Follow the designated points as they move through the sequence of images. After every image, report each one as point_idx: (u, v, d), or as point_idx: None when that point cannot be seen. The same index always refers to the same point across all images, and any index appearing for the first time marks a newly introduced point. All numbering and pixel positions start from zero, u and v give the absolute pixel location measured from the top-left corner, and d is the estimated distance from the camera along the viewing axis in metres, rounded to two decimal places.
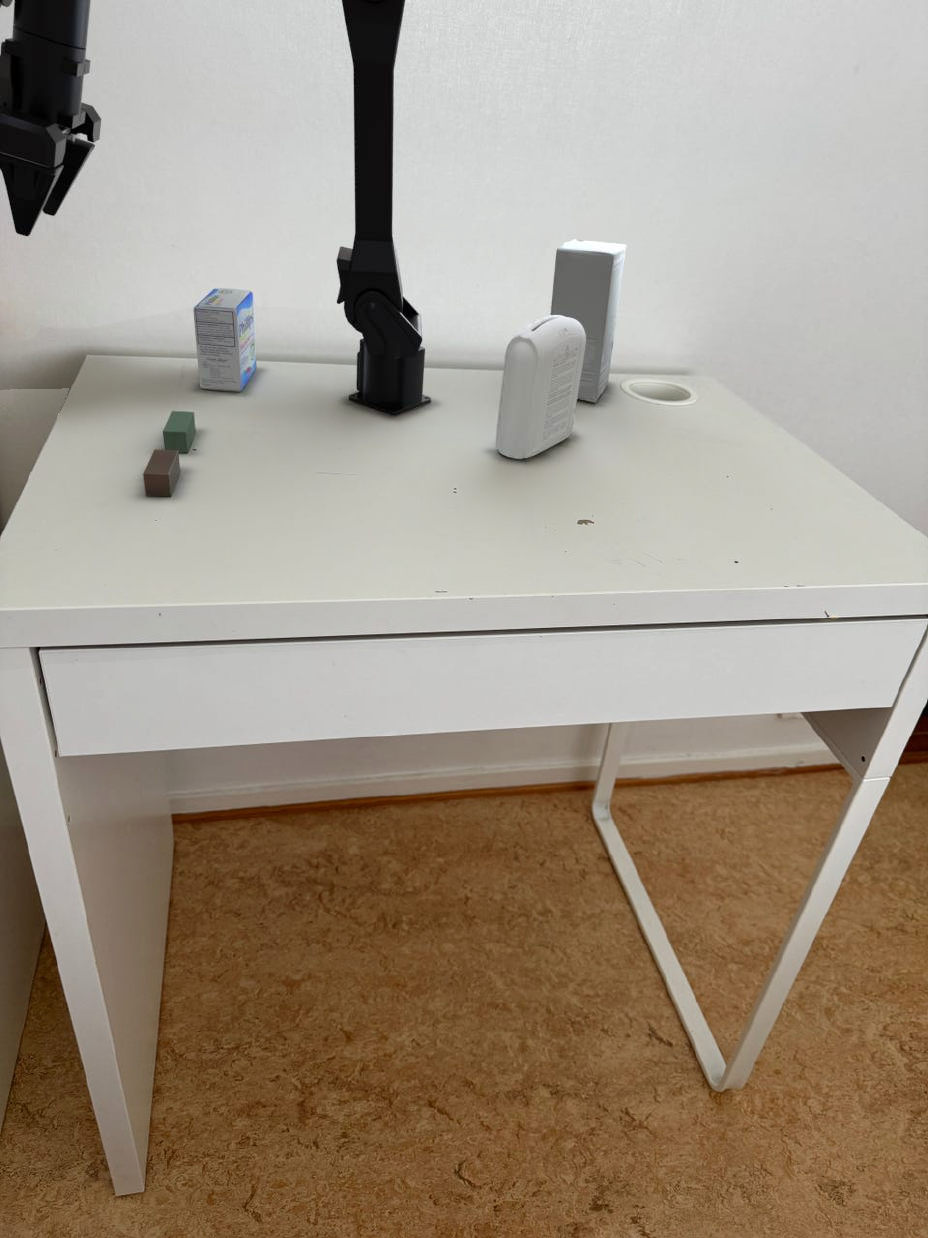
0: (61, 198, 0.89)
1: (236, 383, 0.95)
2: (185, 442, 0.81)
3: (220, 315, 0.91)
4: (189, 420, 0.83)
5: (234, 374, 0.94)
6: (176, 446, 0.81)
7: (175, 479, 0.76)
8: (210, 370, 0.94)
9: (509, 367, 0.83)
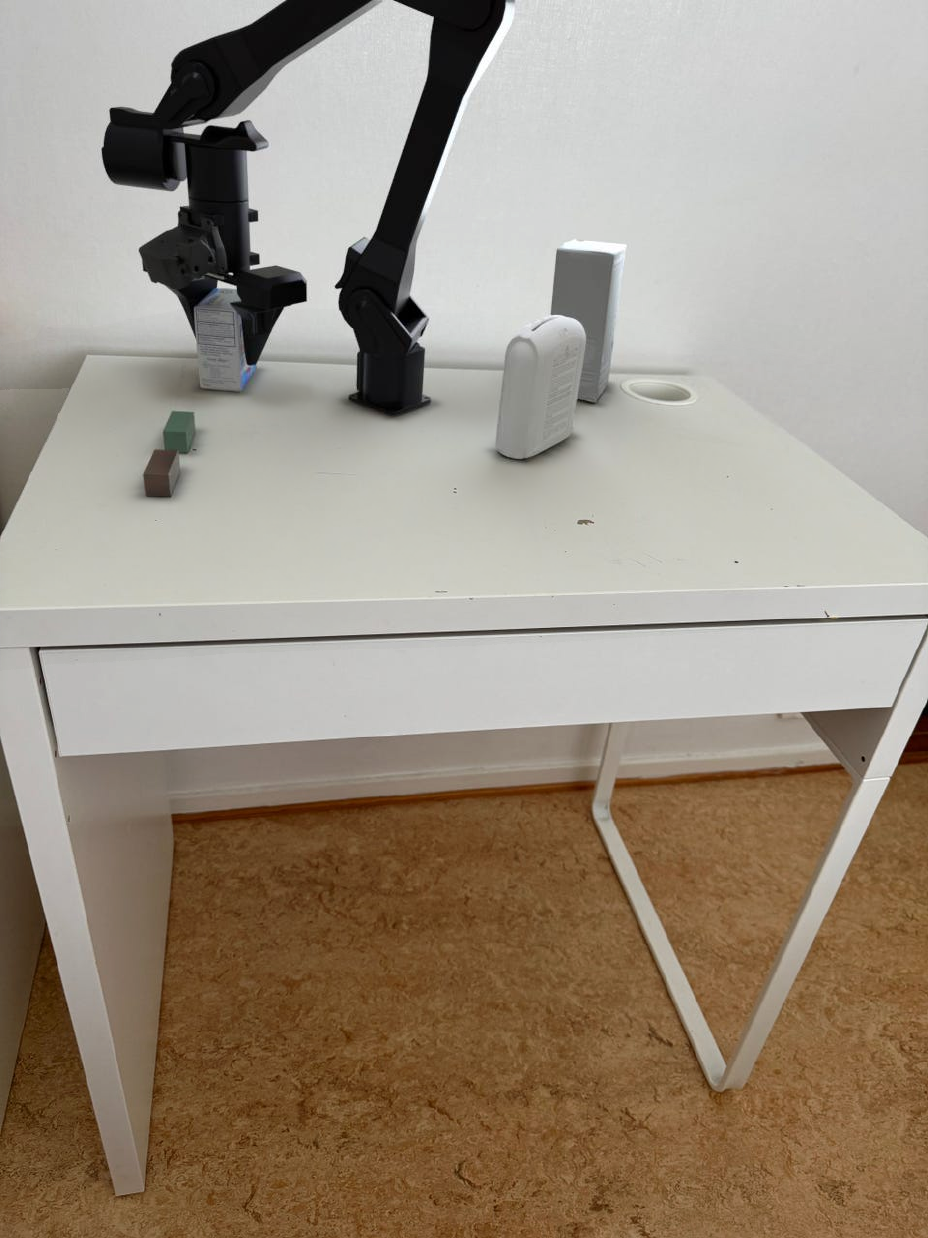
0: None
1: (236, 383, 0.95)
2: (185, 442, 0.81)
3: (221, 315, 0.91)
4: (189, 420, 0.83)
5: (234, 374, 0.94)
6: (176, 446, 0.81)
7: (175, 479, 0.76)
8: (210, 370, 0.94)
9: (509, 367, 0.83)
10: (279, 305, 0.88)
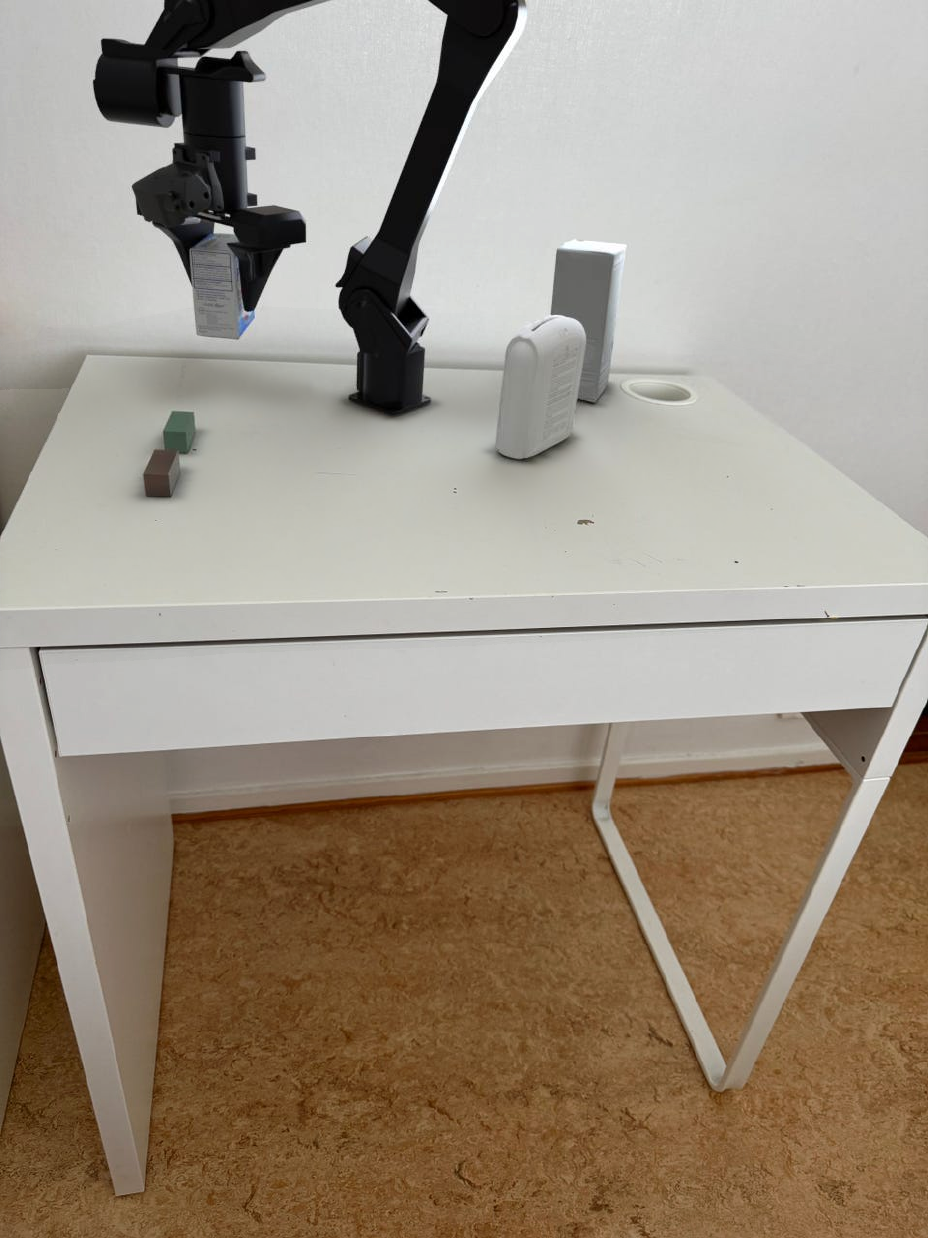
0: None
1: (233, 330, 0.92)
2: (185, 442, 0.81)
3: (217, 257, 0.88)
4: (189, 420, 0.83)
5: (231, 320, 0.91)
6: (176, 446, 0.81)
7: (175, 479, 0.76)
8: (206, 316, 0.91)
9: (509, 367, 0.83)
10: (277, 244, 0.85)
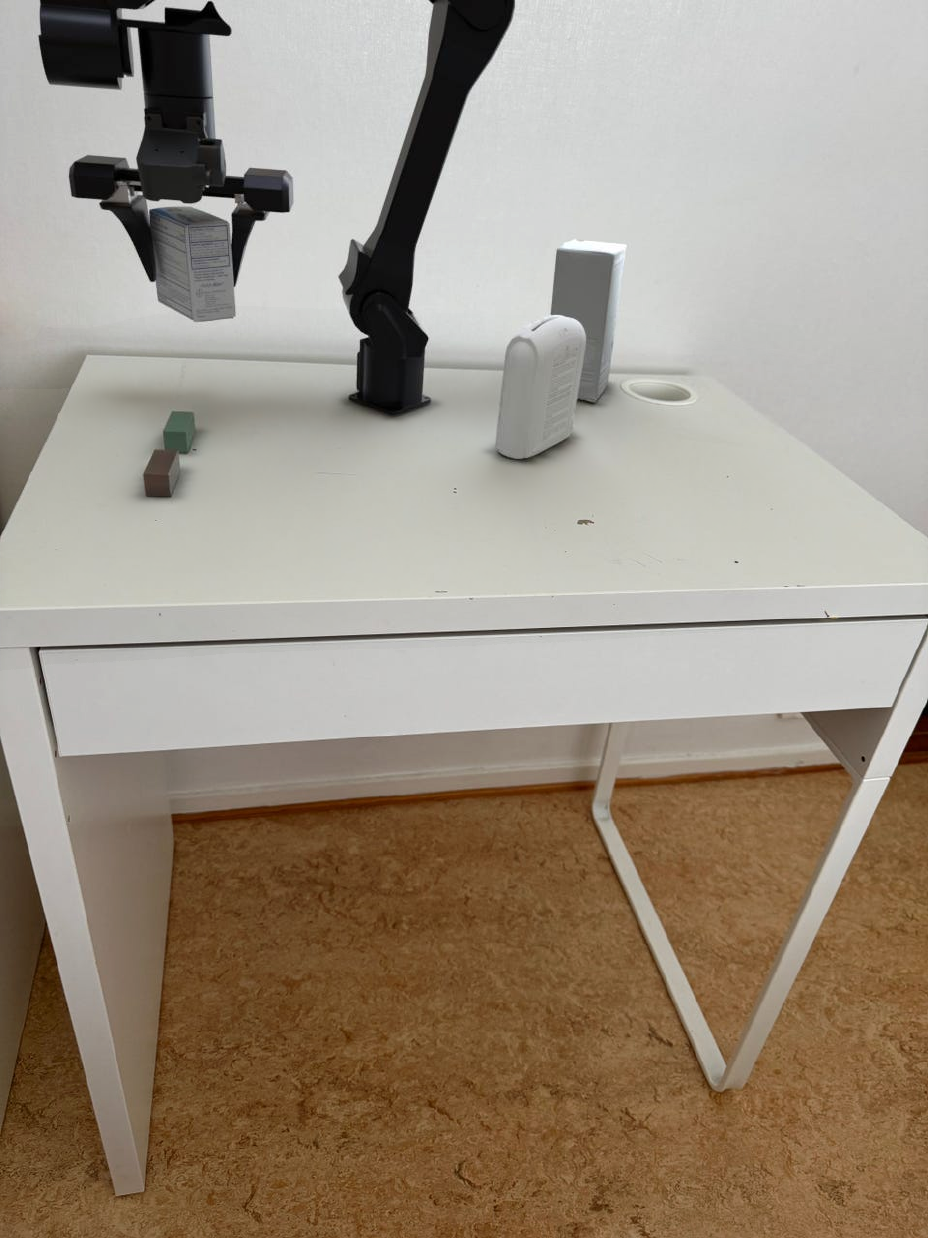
0: (153, 258, 0.86)
1: (231, 308, 0.86)
2: (185, 442, 0.81)
3: (215, 231, 0.81)
4: (189, 420, 0.83)
5: (229, 298, 0.85)
6: (176, 446, 0.81)
7: (175, 479, 0.76)
8: (204, 299, 0.84)
9: (509, 367, 0.83)
10: (290, 207, 0.82)
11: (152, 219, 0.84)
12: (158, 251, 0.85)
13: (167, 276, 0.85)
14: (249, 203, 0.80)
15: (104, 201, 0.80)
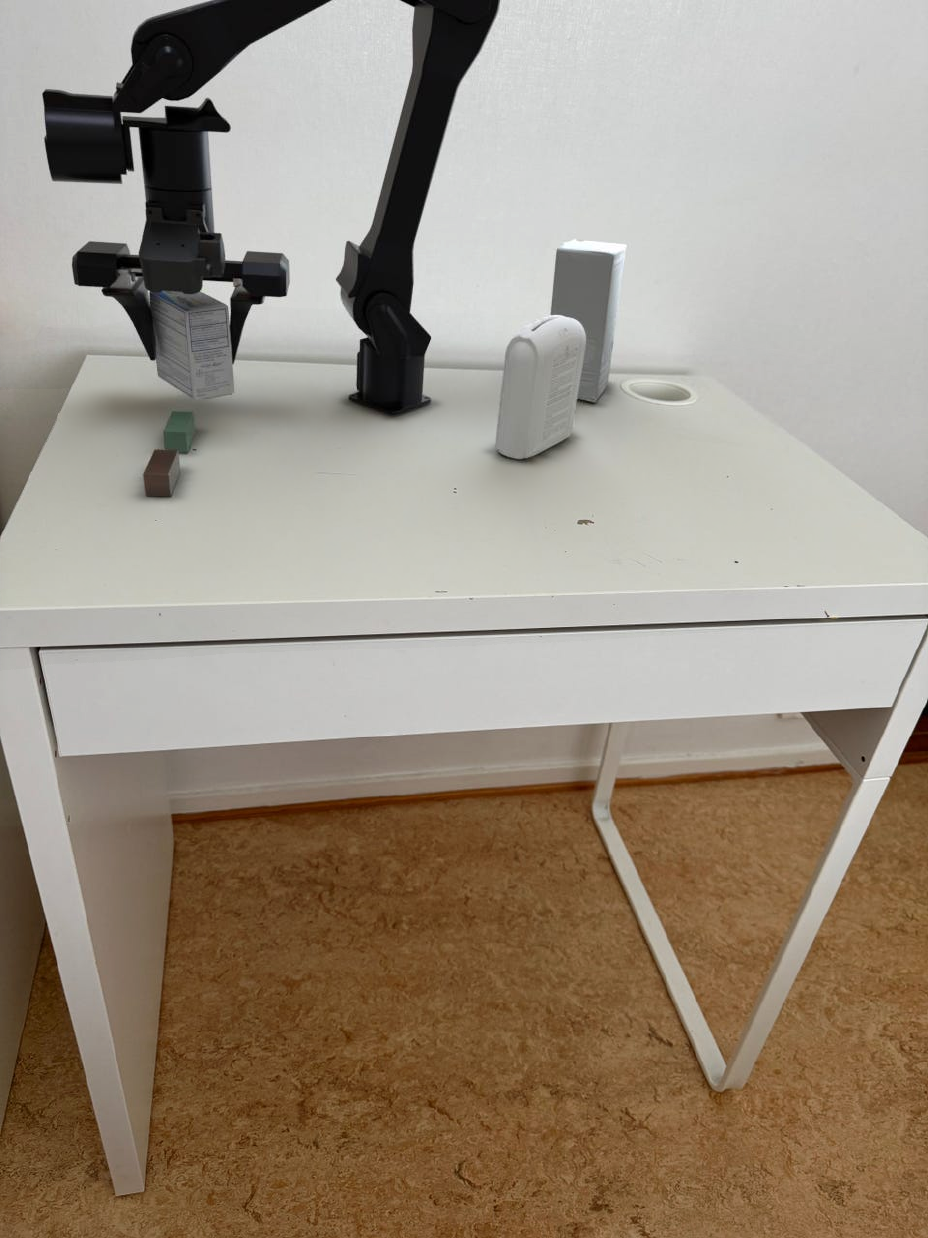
0: (153, 337, 0.88)
1: (230, 385, 0.88)
2: (185, 442, 0.81)
3: (214, 315, 0.84)
4: (189, 420, 0.83)
5: (228, 376, 0.88)
6: (176, 446, 0.81)
7: (175, 479, 0.76)
8: (204, 378, 0.86)
9: (509, 367, 0.83)
10: (287, 290, 0.85)
11: (153, 301, 0.87)
12: (158, 331, 0.88)
13: (167, 355, 0.88)
14: (247, 289, 0.83)
15: (106, 288, 0.82)
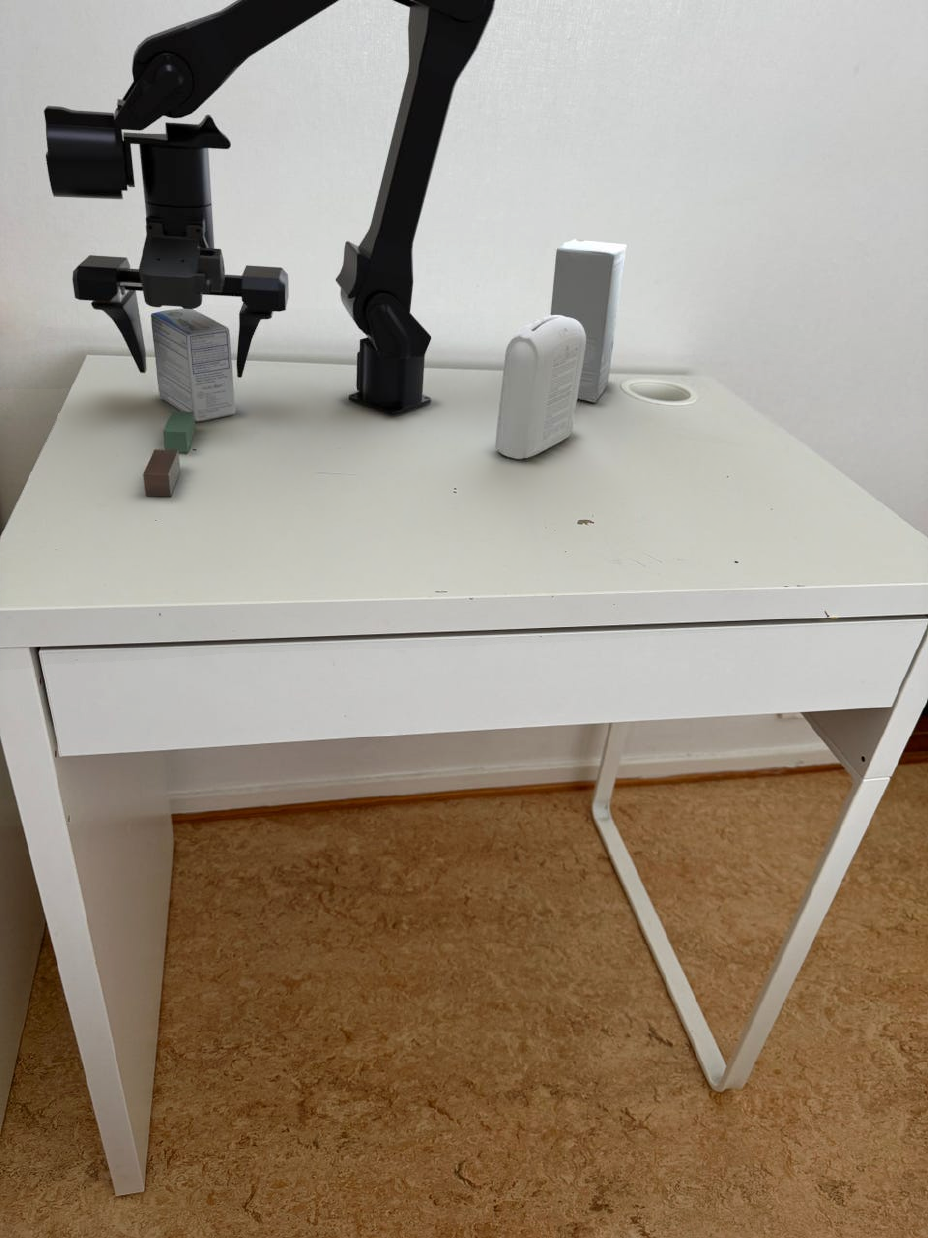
0: (143, 349, 0.89)
1: (231, 406, 0.89)
2: (185, 442, 0.81)
3: (215, 338, 0.85)
4: (189, 420, 0.83)
5: (229, 397, 0.89)
6: (176, 446, 0.81)
7: (175, 479, 0.76)
8: (205, 400, 0.87)
9: (509, 367, 0.83)
10: (286, 304, 0.86)
11: (154, 323, 0.88)
12: (160, 352, 0.89)
13: (169, 376, 0.89)
14: (247, 303, 0.83)
15: (96, 301, 0.83)
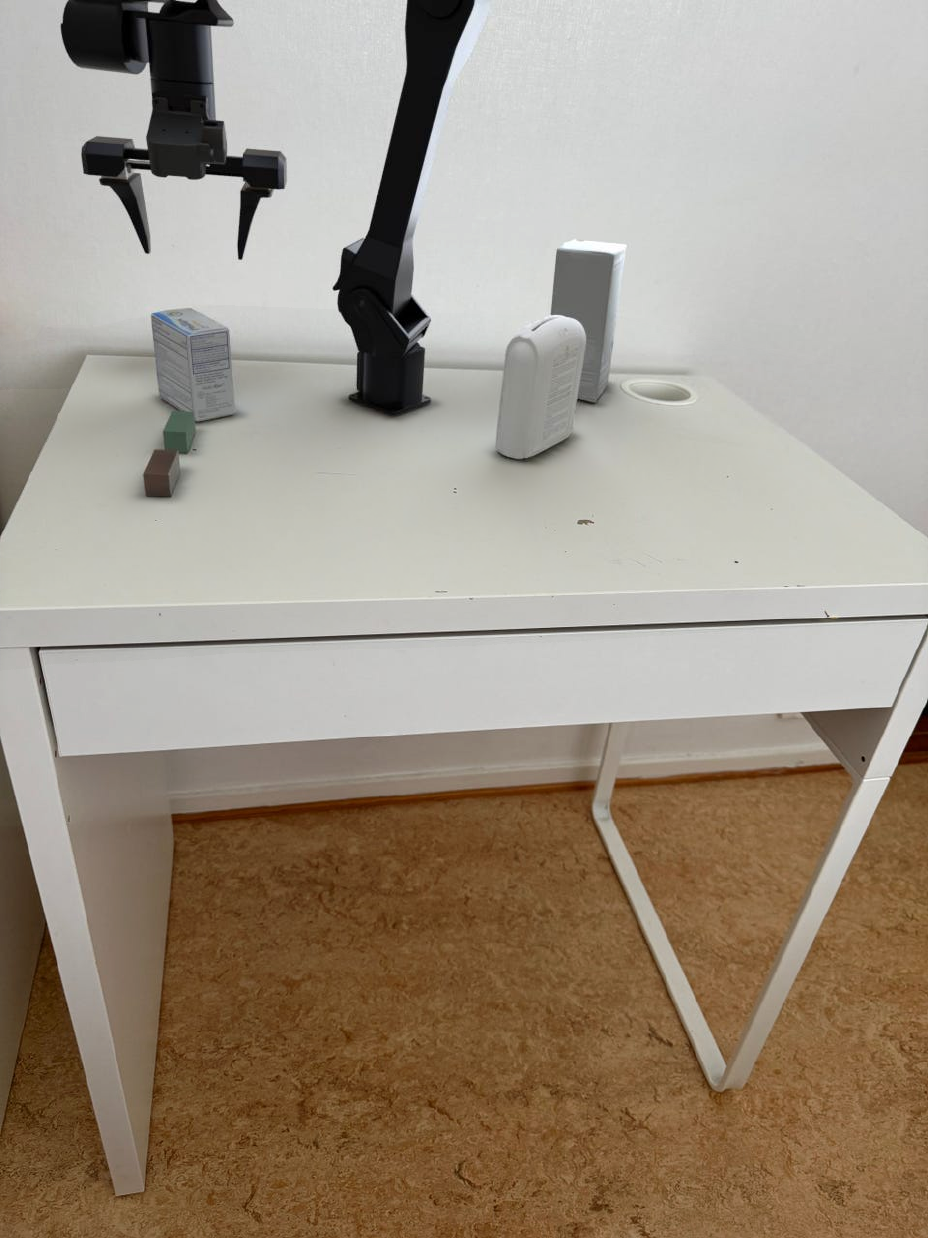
0: (147, 231, 0.93)
1: (231, 406, 0.89)
2: (185, 442, 0.81)
3: (215, 338, 0.85)
4: (189, 420, 0.83)
5: (229, 397, 0.89)
6: (176, 446, 0.81)
7: (175, 479, 0.76)
8: (205, 400, 0.87)
9: (509, 367, 0.83)
10: None
11: (154, 323, 0.88)
12: (160, 352, 0.89)
13: (169, 376, 0.89)
14: (247, 180, 0.88)
15: (103, 177, 0.87)
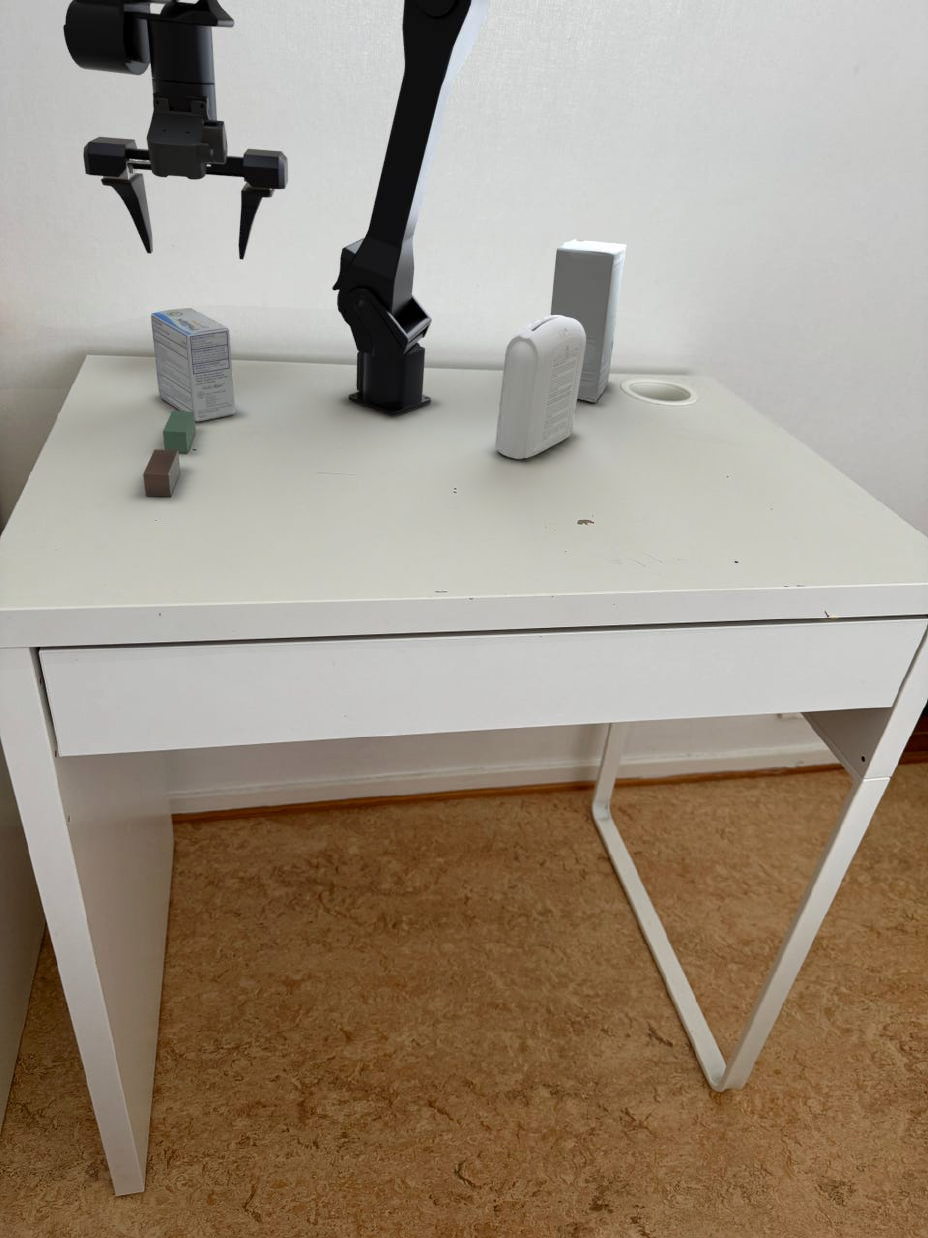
0: (149, 231, 0.93)
1: (231, 406, 0.89)
2: (185, 442, 0.81)
3: (215, 338, 0.85)
4: (189, 420, 0.83)
5: (229, 397, 0.89)
6: (176, 446, 0.81)
7: (175, 479, 0.76)
8: (205, 400, 0.87)
9: (509, 367, 0.83)
10: (285, 184, 0.90)
11: (154, 323, 0.88)
12: (160, 352, 0.89)
13: (169, 376, 0.89)
14: (248, 180, 0.88)
15: (105, 178, 0.87)
